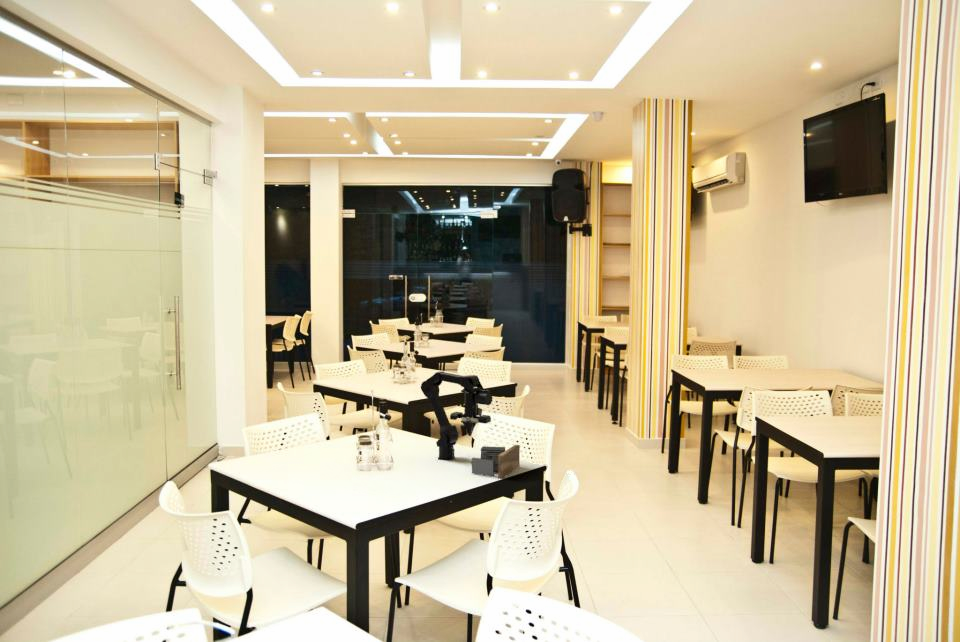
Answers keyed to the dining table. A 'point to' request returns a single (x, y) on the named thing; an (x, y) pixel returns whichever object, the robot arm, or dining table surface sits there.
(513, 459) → the shelf panel
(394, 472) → the dining table surface
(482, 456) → the small box
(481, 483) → the dining table surface
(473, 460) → the bookend
